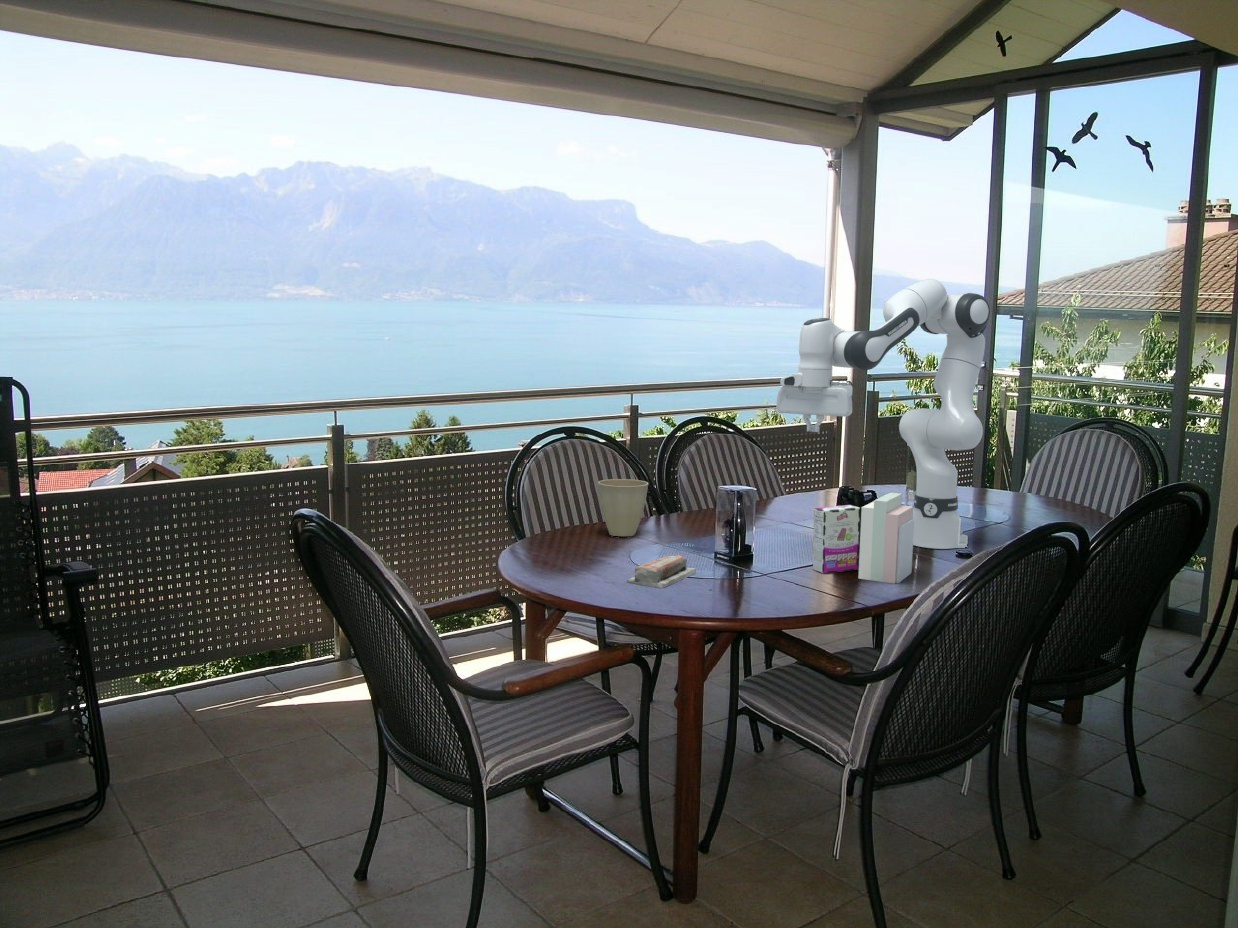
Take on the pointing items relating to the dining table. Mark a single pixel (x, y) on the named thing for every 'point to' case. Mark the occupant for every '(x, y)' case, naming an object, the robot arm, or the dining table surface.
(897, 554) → the book row
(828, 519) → the candy bar box
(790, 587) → the dining table surface
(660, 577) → the packaged product
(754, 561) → the dining table surface
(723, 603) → the dining table surface
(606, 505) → the plant pot
